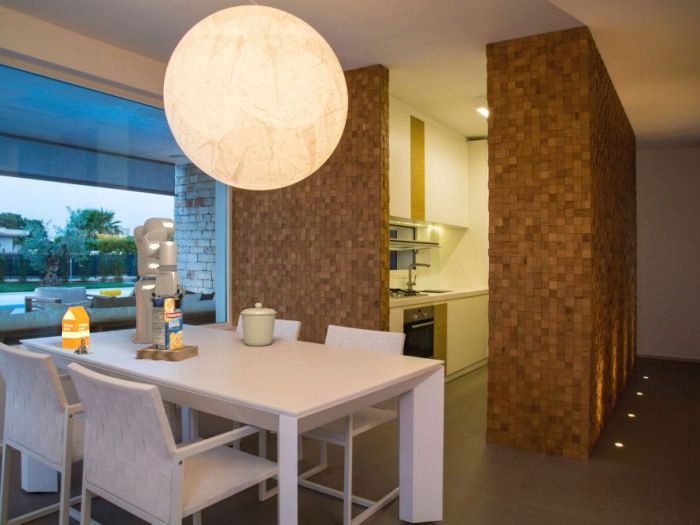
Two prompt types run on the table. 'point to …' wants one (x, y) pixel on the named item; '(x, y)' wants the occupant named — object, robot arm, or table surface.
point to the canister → (258, 325)
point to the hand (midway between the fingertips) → (168, 308)
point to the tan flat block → (168, 353)
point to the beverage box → (167, 324)
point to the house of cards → (83, 348)
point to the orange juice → (75, 327)
